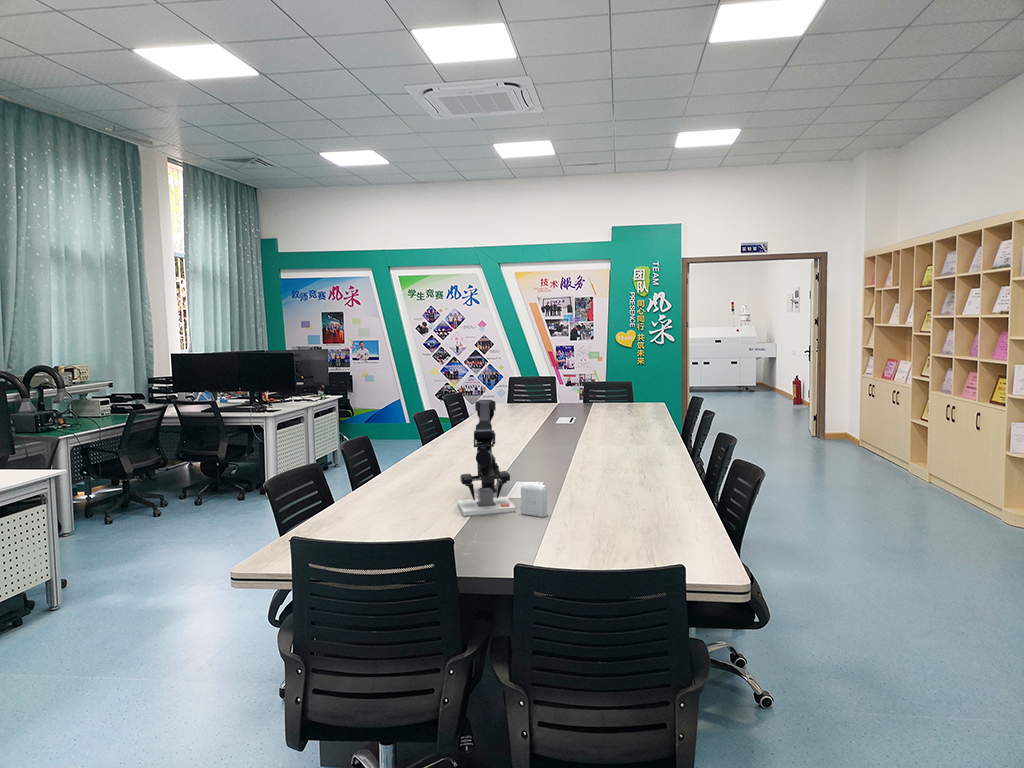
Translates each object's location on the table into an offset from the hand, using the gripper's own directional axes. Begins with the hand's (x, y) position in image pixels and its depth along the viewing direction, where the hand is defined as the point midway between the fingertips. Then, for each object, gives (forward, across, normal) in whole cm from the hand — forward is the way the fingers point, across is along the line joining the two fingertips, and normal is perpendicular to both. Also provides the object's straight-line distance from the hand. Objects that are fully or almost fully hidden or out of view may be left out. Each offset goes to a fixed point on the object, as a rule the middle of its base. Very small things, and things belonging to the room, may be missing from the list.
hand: (485, 499), depth 260 cm
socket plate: (+4, 0, 0) cm, 4 cm away
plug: (+3, 0, 0) cm, 3 cm away
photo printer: (+4, +16, -13) cm, 21 cm away
